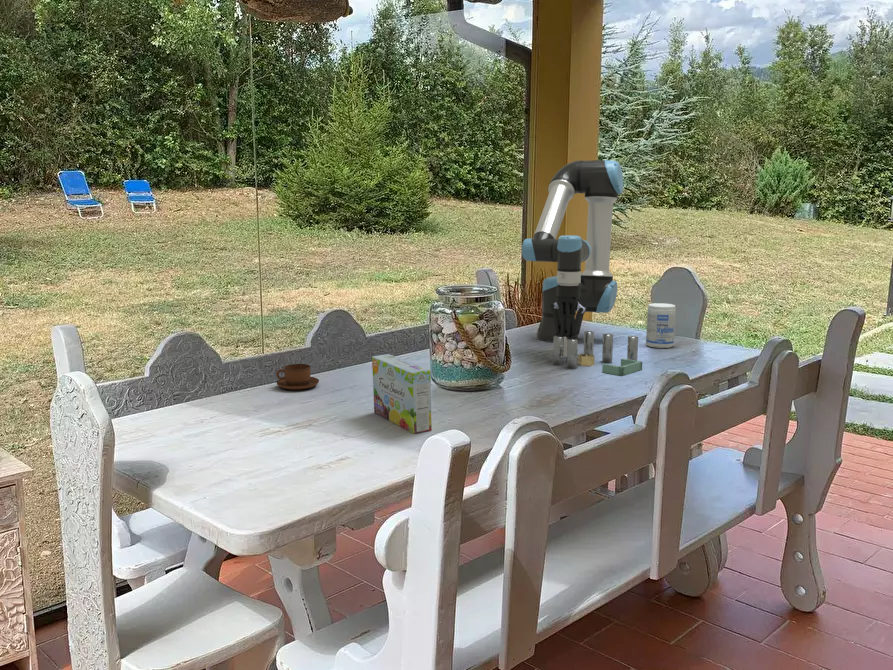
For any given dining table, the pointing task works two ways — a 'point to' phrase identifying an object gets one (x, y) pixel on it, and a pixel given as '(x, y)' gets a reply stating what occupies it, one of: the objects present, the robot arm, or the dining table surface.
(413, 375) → the snack box
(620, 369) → the tray
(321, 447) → the dining table surface
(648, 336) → the supplement tub
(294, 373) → the cup and saucer
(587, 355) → the nut
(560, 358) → the spacers
